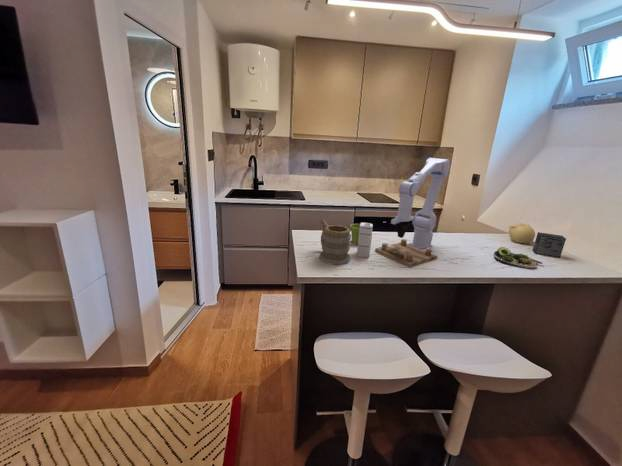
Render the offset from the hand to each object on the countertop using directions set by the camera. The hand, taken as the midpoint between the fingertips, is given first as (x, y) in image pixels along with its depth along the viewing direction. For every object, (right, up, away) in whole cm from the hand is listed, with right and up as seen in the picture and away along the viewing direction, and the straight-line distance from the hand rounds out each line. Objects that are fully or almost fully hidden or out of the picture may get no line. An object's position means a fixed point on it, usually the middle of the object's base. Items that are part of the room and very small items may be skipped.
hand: (400, 237), depth 134 cm
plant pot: (-18, -3, +14) cm, 23 cm away
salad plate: (+55, -12, +4) cm, 56 cm away
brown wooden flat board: (+3, -8, +2) cm, 9 cm away
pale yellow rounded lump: (+79, -3, +32) cm, 85 cm away
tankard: (-33, -8, -4) cm, 34 cm away
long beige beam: (-4, -7, -1) cm, 8 cm away
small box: (+80, -9, +15) cm, 82 cm away
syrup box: (-18, -8, -1) cm, 19 cm away
